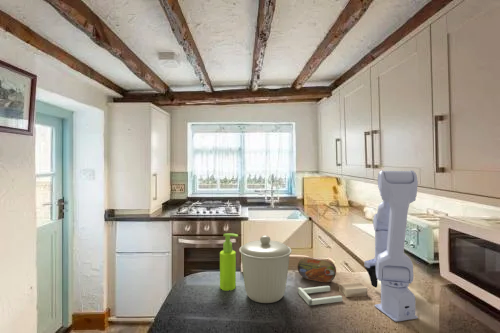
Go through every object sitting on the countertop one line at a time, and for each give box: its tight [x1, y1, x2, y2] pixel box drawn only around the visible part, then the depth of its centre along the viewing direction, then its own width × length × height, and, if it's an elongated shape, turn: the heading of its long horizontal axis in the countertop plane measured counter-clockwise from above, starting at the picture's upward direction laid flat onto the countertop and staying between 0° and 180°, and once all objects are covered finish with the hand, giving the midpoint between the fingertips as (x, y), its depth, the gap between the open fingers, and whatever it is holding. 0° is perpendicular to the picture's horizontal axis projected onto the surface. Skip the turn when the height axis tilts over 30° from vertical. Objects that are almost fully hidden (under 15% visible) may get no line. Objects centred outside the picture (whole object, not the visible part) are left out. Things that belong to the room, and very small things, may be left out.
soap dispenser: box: [219, 232, 239, 292], centre depth 106 cm, size 6×7×20 cm
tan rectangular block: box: [338, 281, 368, 298], centre depth 102 cm, size 5×8×3 cm, turn 99°
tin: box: [297, 256, 337, 283], centre depth 113 cm, size 15×3×8 cm, turn 62°
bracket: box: [297, 285, 343, 306], centre depth 98 cm, size 9×12×2 cm
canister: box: [238, 235, 293, 304], centre depth 99 cm, size 18×18×21 cm
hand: (383, 285), depth 104 cm, fingers open, 7 cm apart
